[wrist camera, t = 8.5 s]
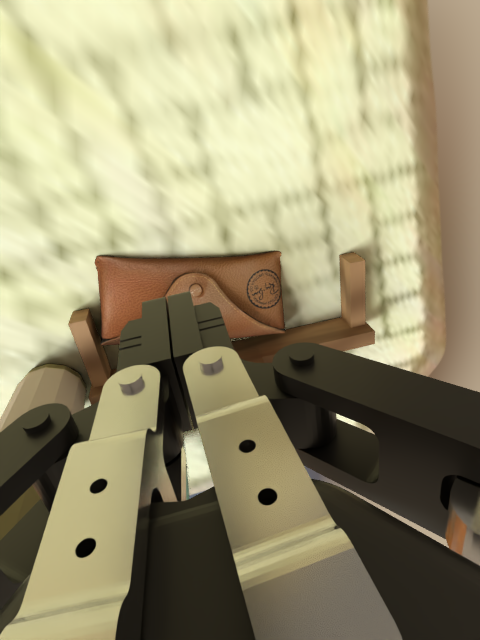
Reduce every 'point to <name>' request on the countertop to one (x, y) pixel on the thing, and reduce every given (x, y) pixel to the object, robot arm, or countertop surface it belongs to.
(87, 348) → the display cradle
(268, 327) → the sunglasses case
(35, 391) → the bottle
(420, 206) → the countertop surface
